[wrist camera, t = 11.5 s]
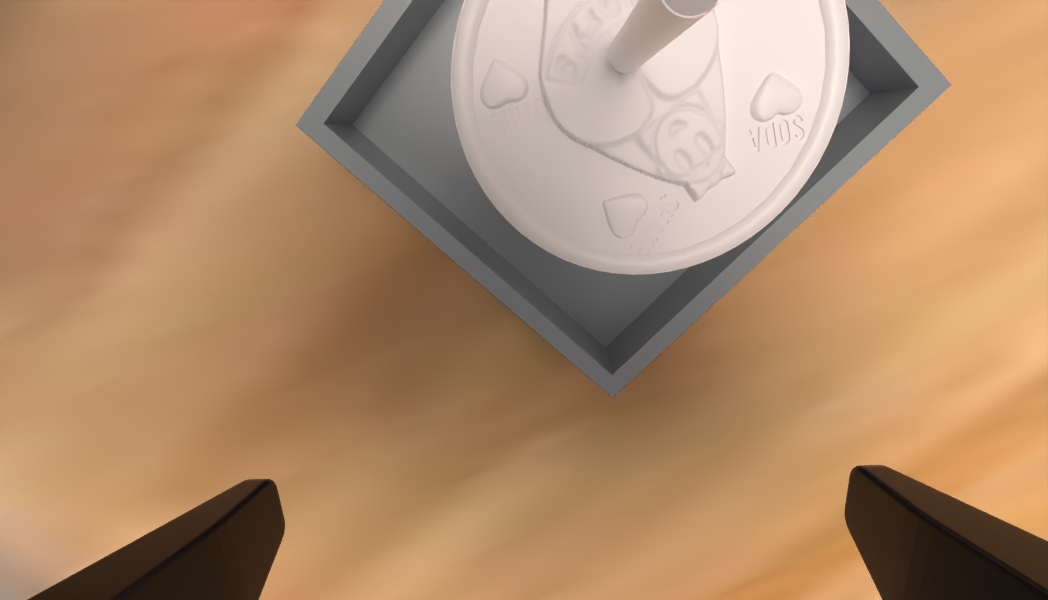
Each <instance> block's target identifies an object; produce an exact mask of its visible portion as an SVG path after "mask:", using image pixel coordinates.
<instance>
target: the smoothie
mask: <svg viewBox="0 0 1048 600" xmlns="http://www.w3.org/2000/svg"><path fill="white" fill-rule="evenodd" d="M849 52H850V38H849V23H848V16H847V10H846V4H845V0H464V2H463V6H462V9H461V13H460V16H459V20H458V23H457V28H456V33H455V38H454V43H453V53H452V63H451V91H452V103H453V110H454V116H455V122H456V127H457V130H458V134H459V138H460V141H461V145H462V147H463V150H464V153H465V155H466V158H467V161H468V163H469V165H470V167H471V169H472V171H473V173H474V176H475V178H476V179H477V181H478V183H479V184H480V186H481V188H482V189H483V191H484V193H485V194H486V195H487V197H488V198H489V200H490V201H491V202H492V204H493V205H494V206H495V208H496V209H497V210H498V211H499V212H500V213H501V214H502V216H503V217H504V218H505V219H506V220H507V221H508V222H509V223H510V224H511V225H512V226H513V227H514V228H516V229H517V230H518V231H519V232H520V233H521V234H522V235H524V236H525V237H526V238H528V239H529V240H530V241H532V242H533V243H534V244H536V245H538V246H539V247H541V248H542V249H544V250H546V251H547V252H549V253H551V254H553V255H555V256H557V257H559V258H561V259H563V260H565V261H568V262H571V263H574V264H576V265H579V266H582V267H586V268H590V269H593V270H597V271H603V272H609V273H616V274H631V275H636V274H655V273H663V272H670V271H674V270H679V269H683V268H687V267H690V266H693V265H697V264H700V263H703V262H705V261H708V260H710V259H712V258H715V257H717V256H720V255H721V254H723V253H725V252H727V251H729V250H731V249H733V248H735V247H737V246H738V245H740V244H741V243H743V242H744V241H746V240H747V239H749V238H750V237H752V236H753V235H755V234H756V233H757V232H758V231H760V230H761V229H762V228H764V227H765V226H766V225H767V224H769V223H770V222H771V221H772V220H773V219H774V218H775V217H776V216H777V215H778V214H779V213H780V212H782V210H783V209H784V208H785V207H786V206H787V205H788V204H789V203H790V202H791V201H792V199H793V198H794V197H795V196H796V195H797V193H798V192H799V191H800V190H801V188H802V187H803V186H804V184H805V183H806V182H807V180H808V179H809V177H810V176H811V174H812V172H813V171H814V169H815V168H816V166H817V165H818V163H819V161H820V159H821V157H822V155H823V153H824V151H825V149H826V147H827V146H828V143H829V141H830V138H831V136H832V134H833V131H834V129H835V126H836V123H837V120H838V117H839V114H840V111H841V107H842V104H843V99H844V94H845V90H846V85H847V77H848V69H849Z"/></svg>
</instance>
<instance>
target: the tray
mask: <svg viewBox="0 0 1048 600" xmlns="http://www.w3.org/2000/svg"><path fill="white" fill-rule="evenodd" d="M463 2H464V0H384V2H383V3H382V5H381V6H380V7H379V9H378V10H377V12H376V13H375V14H374V16H373V17H372V19H371V20H370V21H369V23H368V24H367V26H366V27H365V29H364V30H363V31H362V33H361V34H360V36H359V37H358V38H357V40H356V41H355V43H354V44H353V45H352V47H351V48H350V50H349V51H348V53H347V54H346V55H345V57H344V58H343V60H342V61H341V62H340V64H339V65H338V67H337V68H336V69H335V71H334V72H333V74H332V75H331V77H330V78H329V79H328V81H327V82H326V84H325V85H324V86H323V88H322V89H321V91H320V92H319V93H318V95H317V96H316V98H315V99H314V101H313V102H312V103H311V105H310V106H309V108H308V109H307V110H306V112H305V113H304V115H303V116H302V117H301V119H300V120H299V122H298V123H297V124H296V126H297V127H298V128H300V129H301V130H302V131H303V132H304V133H305V134H307V135H308V136H309V137H310V138H311V139H312V140H314V141H315V142H316V143H317V144H318V145H319V146H321V147H322V148H323V149H324V150H325V151H326V152H327V153H329V154H330V155H331V156H332V157H333V158H334V159H336V160H337V161H338V162H339V163H340V164H341V165H343V166H344V167H345V168H346V169H347V170H348V171H350V172H351V173H352V174H353V175H354V176H355V177H356V178H358V179H359V180H360V181H361V182H362V183H363V184H365V185H366V186H367V187H368V188H369V189H370V190H372V191H373V192H374V193H375V194H376V195H377V196H379V197H380V198H381V199H382V200H383V201H384V202H386V203H387V204H388V205H389V206H390V207H391V208H392V209H394V210H395V211H396V212H397V213H398V214H399V215H401V216H402V217H403V218H404V219H405V220H406V221H408V222H409V223H410V224H411V225H412V226H413V227H415V228H416V229H417V230H418V231H419V232H420V233H421V234H423V235H424V236H425V237H426V238H427V239H428V240H430V241H431V242H432V243H433V244H434V245H435V246H437V247H438V248H439V249H440V250H441V251H442V252H444V253H445V254H446V255H447V256H448V257H449V258H451V259H452V260H453V261H454V262H455V263H456V264H457V265H459V266H460V267H461V268H462V269H463V270H464V271H466V272H467V273H468V274H469V275H470V276H471V277H473V278H474V279H475V280H476V281H477V282H478V283H480V284H481V285H482V286H483V287H484V288H485V289H487V290H488V291H489V292H490V293H491V294H492V295H493V296H495V297H496V298H497V299H498V300H499V301H500V302H502V303H503V304H504V305H505V306H506V307H507V308H509V309H510V310H511V311H512V312H513V313H514V314H516V315H517V316H518V317H519V318H520V319H521V320H522V321H524V322H525V323H526V324H527V325H528V326H529V327H531V328H532V329H533V330H534V331H535V332H536V333H538V334H539V335H540V336H541V337H542V338H543V339H545V340H546V341H547V342H548V343H549V344H550V345H552V346H553V347H554V348H555V349H556V350H557V351H558V352H560V353H561V354H562V355H563V356H564V357H565V358H567V359H568V360H569V361H570V362H571V363H572V364H574V365H575V366H576V367H577V368H578V369H579V370H581V371H582V372H583V373H584V374H585V375H586V376H587V377H589V378H590V379H591V380H592V381H593V382H594V383H596V384H597V385H598V386H599V387H600V388H601V389H603V390H604V391H605V392H606V393H607V394H608V395H610V396H611V397H612V398H613V397H614V396H615V395H616V394H617V393H618V392H619V391H621V390H622V389H623V388H624V387H625V386H626V385H627V384H628V383H629V382H630V381H631V380H632V379H634V378H635V377H636V376H637V375H638V374H639V373H640V372H641V371H642V370H643V369H644V368H645V367H646V366H648V365H649V364H650V363H651V362H652V361H653V360H654V359H655V358H656V357H657V356H658V355H659V354H661V353H662V352H663V351H664V350H665V349H666V348H667V347H668V346H669V345H670V344H671V343H672V342H674V341H675V340H676V339H677V338H678V337H679V336H680V335H681V334H682V333H683V332H684V331H685V330H687V329H688V328H689V327H690V326H691V325H692V324H693V323H694V322H695V321H696V320H697V319H698V318H700V317H701V316H702V315H703V314H704V313H705V312H706V311H707V310H708V309H709V308H710V307H711V306H713V305H714V304H715V303H716V302H717V301H718V300H719V299H720V298H721V297H722V296H723V295H724V294H726V293H727V292H728V291H729V290H730V289H731V288H732V287H733V286H734V285H735V284H736V283H737V282H738V281H740V280H741V279H742V278H743V277H744V276H745V275H746V274H747V273H748V272H749V271H750V270H751V269H753V268H754V267H755V266H756V265H757V264H758V263H759V262H760V261H761V260H762V259H763V258H764V257H766V256H767V255H768V254H769V253H770V252H771V251H772V250H773V249H774V248H775V247H776V246H777V245H779V244H780V243H781V242H782V241H783V240H784V239H785V238H786V237H787V236H788V235H789V234H790V233H792V232H793V231H794V230H795V229H796V228H797V227H798V226H799V225H800V224H801V223H802V222H803V221H805V220H806V219H807V218H808V217H809V216H810V215H811V214H812V213H813V212H814V211H815V210H816V209H818V208H819V207H820V206H821V205H822V204H823V203H824V202H825V201H826V200H827V199H828V198H829V197H831V196H832V195H833V194H834V193H835V192H836V191H837V190H838V189H839V188H840V187H841V186H842V185H843V184H845V183H846V182H847V181H848V180H849V179H850V178H851V177H852V176H853V175H854V174H855V173H856V172H858V171H859V170H860V169H861V168H862V167H863V166H864V165H865V164H866V163H867V162H868V161H869V160H871V159H872V158H873V157H874V156H875V155H876V154H877V153H878V152H879V151H880V150H881V149H882V148H884V147H885V146H886V145H887V144H888V143H889V142H890V141H891V140H892V139H893V138H894V137H895V136H897V135H898V134H899V133H900V132H901V131H902V130H903V129H904V128H905V127H906V126H907V125H908V124H910V123H911V122H912V121H913V120H914V119H915V118H916V117H917V116H918V115H919V114H920V113H921V112H923V111H924V110H925V109H926V108H927V107H928V106H929V105H930V104H931V103H932V102H933V101H934V100H935V99H937V98H938V97H939V96H940V95H941V94H942V93H943V92H944V91H945V90H946V89H947V88H948V87H950V86H951V84H950V83H949V82H948V80H947V79H946V78H945V77H944V76H943V75H942V74H941V72H940V71H939V70H938V69H937V68H936V67H935V65H934V64H933V63H932V62H931V61H930V60H929V59H928V57H927V56H926V55H925V54H924V53H923V52H922V50H921V49H920V48H919V47H918V46H917V45H916V44H915V42H914V41H913V40H912V39H911V38H910V37H909V35H908V34H907V33H906V32H905V31H904V30H903V29H902V27H901V26H900V25H899V24H898V23H897V22H896V20H895V19H894V18H893V17H892V16H891V15H890V14H889V12H888V11H887V10H886V9H885V8H884V7H883V5H882V4H881V3H880V2H879V1H878V0H845V4H846V10H847V16H848V23H849V38H850V52H849V69H848V77H847V85H846V90H845V94H844V99H843V104H842V107H841V111H840V114H839V117H838V120H837V123H836V126H835V129H834V131H833V134H832V136H831V138H830V141H829V143H828V146H827V147H826V149H825V151H824V153H823V155H822V157H821V159H820V161H819V163H818V165H817V166H816V168H815V169H814V171H813V172H812V174H811V176H810V177H809V179H808V180H807V182H806V183H805V184H804V186H803V187H802V188H801V190H800V191H799V192H798V193H797V195H796V196H795V197H794V198H793V199H792V201H791V202H790V203H789V204H788V205H787V206H786V207H785V208H784V209H783V210H782V212H780V213H779V214H778V215H777V216H776V217H775V218H774V219H773V220H772V221H771V222H770V223H769V224H767V225H766V226H765V227H764V228H762V229H761V230H760V231H758V232H757V233H756V234H755V235H753V236H752V237H750V238H749V239H747V240H746V241H744V242H743V243H741V244H740V245H738V246H737V247H735V248H733V249H731V250H729V251H727V252H725V253H723V254H721V255H720V256H717V257H715V258H712V259H710V260H708V261H705V262H703V263H700V264H697V265H693V266H690V267H687V268H683V269H679V270H674V271H670V272H663V273H655V274H636V275H631V274H616V273H609V272H603V271H597V270H593V269H590V268H586V267H582V266H579V265H576V264H574V263H571V262H568V261H565V260H563V259H561V258H559V257H557V256H555V255H553V254H551V253H549V252H547V251H546V250H544V249H542V248H541V247H539V246H538V245H536V244H534V243H533V242H532V241H530V240H529V239H528V238H526V237H525V236H524V235H522V234H521V233H520V232H519V231H518V230H517V229H516V228H514V227H513V226H512V225H511V224H510V223H509V222H508V221H507V220H506V219H505V218H504V217H503V216H502V214H501V213H500V212H499V211H498V210H497V209H496V208H495V206H494V205H493V204H492V202H491V201H490V200H489V198H488V197H487V195H486V194H485V193H484V191H483V189H482V188H481V186H480V184H479V183H478V181H477V179H476V178H475V176H474V173H473V171H472V169H471V167H470V165H469V163H468V161H467V158H466V155H465V153H464V150H463V147H462V145H461V141H460V138H459V134H458V130H457V127H456V122H455V116H454V110H453V103H452V91H451V63H452V53H453V43H454V38H455V33H456V28H457V23H458V20H459V16H460V13H461V9H462V6H463Z"/></svg>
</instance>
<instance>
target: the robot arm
mask: <svg viewBox="0 0 1048 600" xmlns="http://www.w3.org/2000/svg"><path fill="white" fill-rule="evenodd" d="M845 520H846V524H847V527H848V529H849V532H850V534H851V536H852V538H853V540H854V542H855V544H856V546H857V548H858V550H859V552H860V554H861V556H862V559H863V561H864V563H865V565H866V567H867V569H868V571H869V573H870V575H871V577H872V579H873V581H874V583H875V585H876V587H877V590H878V592H879V594H880V596H881V598H882V600H1048V541H1046V540H1044V539H1042V538H1040V537H1037V536H1035V535H1033V534H1031V533H1029V532H1027V531H1024V530H1022V529H1020V528H1018V527H1016V526H1014V525H1012V524H1009V523H1007V522H1005V521H1003V520H1001V519H999V518H996V517H994V516H992V515H990V514H988V513H986V512H983V511H981V510H979V509H977V508H975V507H973V506H971V505H968V504H966V503H964V502H962V501H960V500H958V499H955V498H953V497H951V496H949V495H947V494H945V493H943V492H940V491H938V490H936V489H934V488H932V487H930V486H927V485H925V484H923V483H921V482H919V481H917V480H915V479H912V478H910V477H908V476H906V475H904V474H902V473H899V472H897V471H895V470H893V469H891V468H889V467H886V466H883V465H864V466H856V467H854V468H853V469H852V471H851V473H850V478H849V484H848V491H847V498H846V504H845ZM284 530H285V520H284V516H283V511H282V507H281V503H280V498H279V494H278V490H277V486H276V484H275V483H274V481H272V480H270V479H249V480H245V481H243V482H241V483H239V484H237V485H235V486H234V487H232V488H230V489H228V490H226V491H225V492H223V493H221V494H219V495H217V496H215V497H214V498H212V499H210V500H208V501H206V502H204V503H203V504H201V505H199V506H197V507H195V508H194V509H192V510H190V511H188V512H186V513H184V514H183V515H181V516H179V517H177V518H175V519H174V520H172V521H170V522H168V523H166V524H164V525H163V526H161V527H159V528H157V529H155V530H153V531H152V532H150V533H148V534H146V535H144V536H143V537H141V538H139V539H137V540H135V541H133V542H132V543H130V544H128V545H126V546H124V547H122V548H121V549H119V550H117V551H115V552H113V553H112V554H110V555H108V556H106V557H104V558H102V559H101V560H99V561H97V562H95V563H93V564H92V565H90V566H88V567H86V568H84V569H82V570H81V571H79V572H77V573H75V574H73V575H71V576H70V577H68V578H66V579H64V580H62V581H61V582H59V583H57V584H55V585H53V586H51V587H50V588H48V589H46V590H44V591H42V592H40V593H39V594H37V595H35V596H33V597H31V598H30V599H28V600H259V597H260V595H261V592H262V590H263V587H264V585H265V582H266V580H267V577H268V574H269V572H270V569H271V567H272V564H273V562H274V559H275V557H276V554H277V551H278V549H279V546H280V544H281V541H282V538H283V535H284Z"/></svg>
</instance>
